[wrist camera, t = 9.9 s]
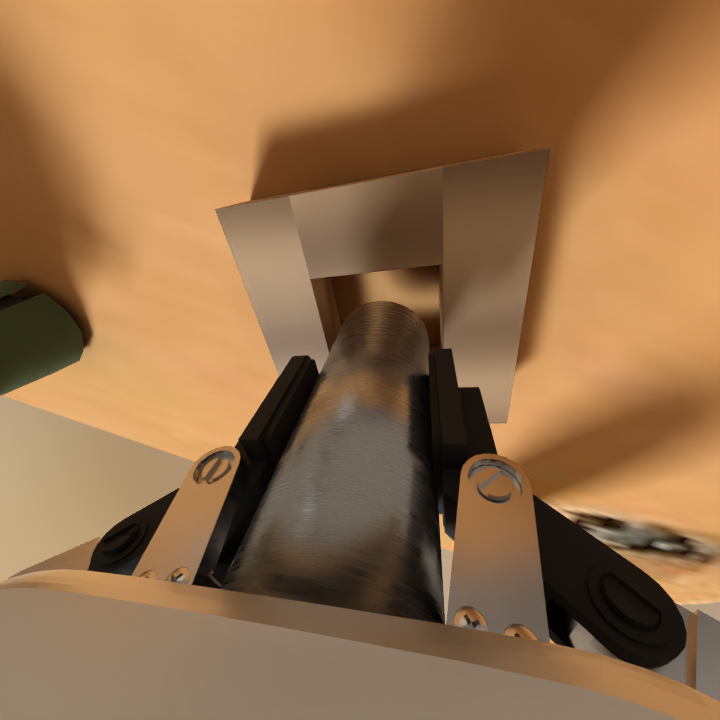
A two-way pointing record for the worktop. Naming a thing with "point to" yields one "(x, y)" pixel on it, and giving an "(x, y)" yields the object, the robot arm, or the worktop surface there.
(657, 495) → the worktop surface
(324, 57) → the worktop surface
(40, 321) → the character mug
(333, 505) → the metal peg
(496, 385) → the square ring frame
